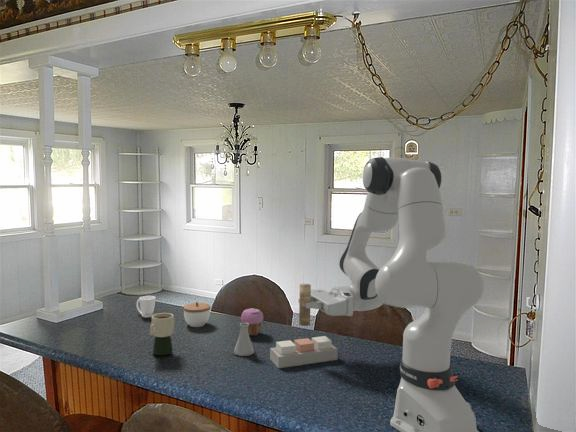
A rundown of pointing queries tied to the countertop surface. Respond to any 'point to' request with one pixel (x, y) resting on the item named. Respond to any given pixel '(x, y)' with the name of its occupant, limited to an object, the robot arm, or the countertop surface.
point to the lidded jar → (196, 314)
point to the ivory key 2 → (322, 343)
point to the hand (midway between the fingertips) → (302, 303)
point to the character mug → (162, 332)
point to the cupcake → (252, 320)
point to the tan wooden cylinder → (304, 297)
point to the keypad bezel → (303, 357)
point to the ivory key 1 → (285, 347)
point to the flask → (244, 342)
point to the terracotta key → (304, 345)
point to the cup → (146, 305)
